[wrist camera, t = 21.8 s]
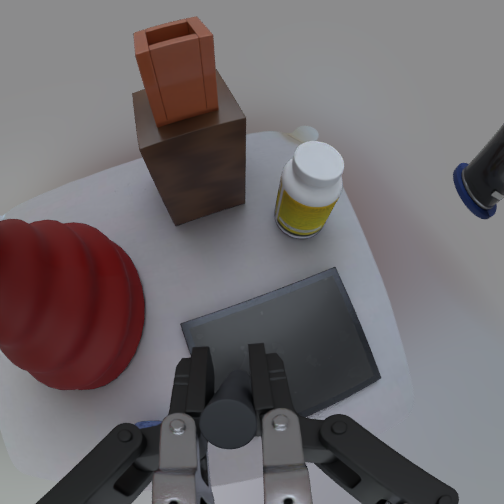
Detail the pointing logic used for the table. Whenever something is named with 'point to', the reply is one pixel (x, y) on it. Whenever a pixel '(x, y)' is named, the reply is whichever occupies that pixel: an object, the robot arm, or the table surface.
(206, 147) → the stand
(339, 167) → the pill bottle
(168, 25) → the pen cup
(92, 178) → the table surface
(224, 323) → the tablet
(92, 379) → the table lamp
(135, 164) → the table surface
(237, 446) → the stylus
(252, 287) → the table surface
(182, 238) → the table surface
